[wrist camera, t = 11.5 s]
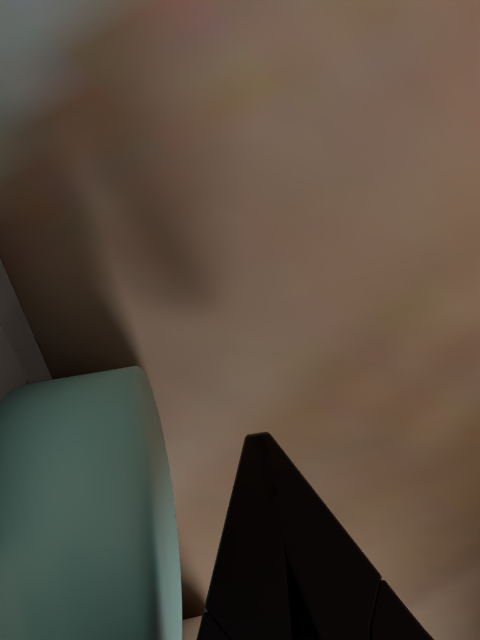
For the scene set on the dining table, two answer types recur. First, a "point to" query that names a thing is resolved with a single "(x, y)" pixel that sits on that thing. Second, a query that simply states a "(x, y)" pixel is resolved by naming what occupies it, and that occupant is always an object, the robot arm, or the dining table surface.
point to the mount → (17, 343)
